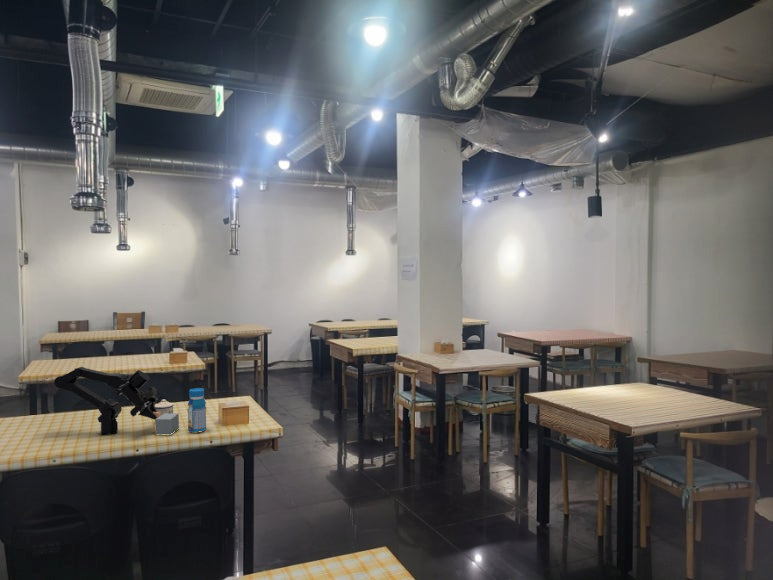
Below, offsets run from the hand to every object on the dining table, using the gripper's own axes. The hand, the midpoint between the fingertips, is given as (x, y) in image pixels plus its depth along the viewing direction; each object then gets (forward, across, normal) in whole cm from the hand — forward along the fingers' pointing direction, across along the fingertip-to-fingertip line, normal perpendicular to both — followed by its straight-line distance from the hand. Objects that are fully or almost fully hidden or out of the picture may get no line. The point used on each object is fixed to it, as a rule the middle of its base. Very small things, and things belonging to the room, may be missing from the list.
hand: (157, 418), depth 246 cm
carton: (+8, 0, +2) cm, 8 cm away
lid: (+2, 0, -2) cm, 3 cm away
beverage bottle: (+18, +2, -8) cm, 19 cm away
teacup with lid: (+3, +18, +8) cm, 20 cm away
